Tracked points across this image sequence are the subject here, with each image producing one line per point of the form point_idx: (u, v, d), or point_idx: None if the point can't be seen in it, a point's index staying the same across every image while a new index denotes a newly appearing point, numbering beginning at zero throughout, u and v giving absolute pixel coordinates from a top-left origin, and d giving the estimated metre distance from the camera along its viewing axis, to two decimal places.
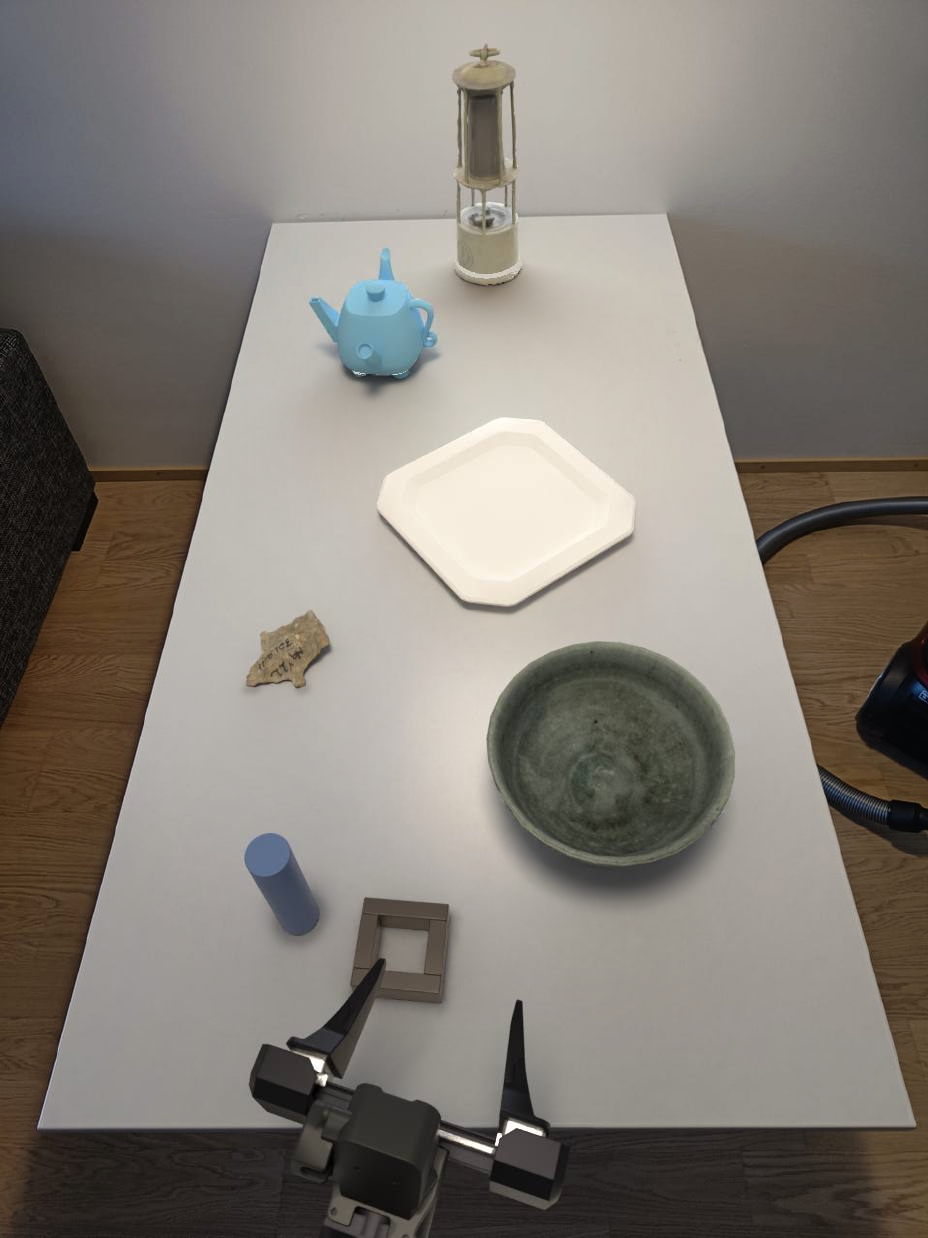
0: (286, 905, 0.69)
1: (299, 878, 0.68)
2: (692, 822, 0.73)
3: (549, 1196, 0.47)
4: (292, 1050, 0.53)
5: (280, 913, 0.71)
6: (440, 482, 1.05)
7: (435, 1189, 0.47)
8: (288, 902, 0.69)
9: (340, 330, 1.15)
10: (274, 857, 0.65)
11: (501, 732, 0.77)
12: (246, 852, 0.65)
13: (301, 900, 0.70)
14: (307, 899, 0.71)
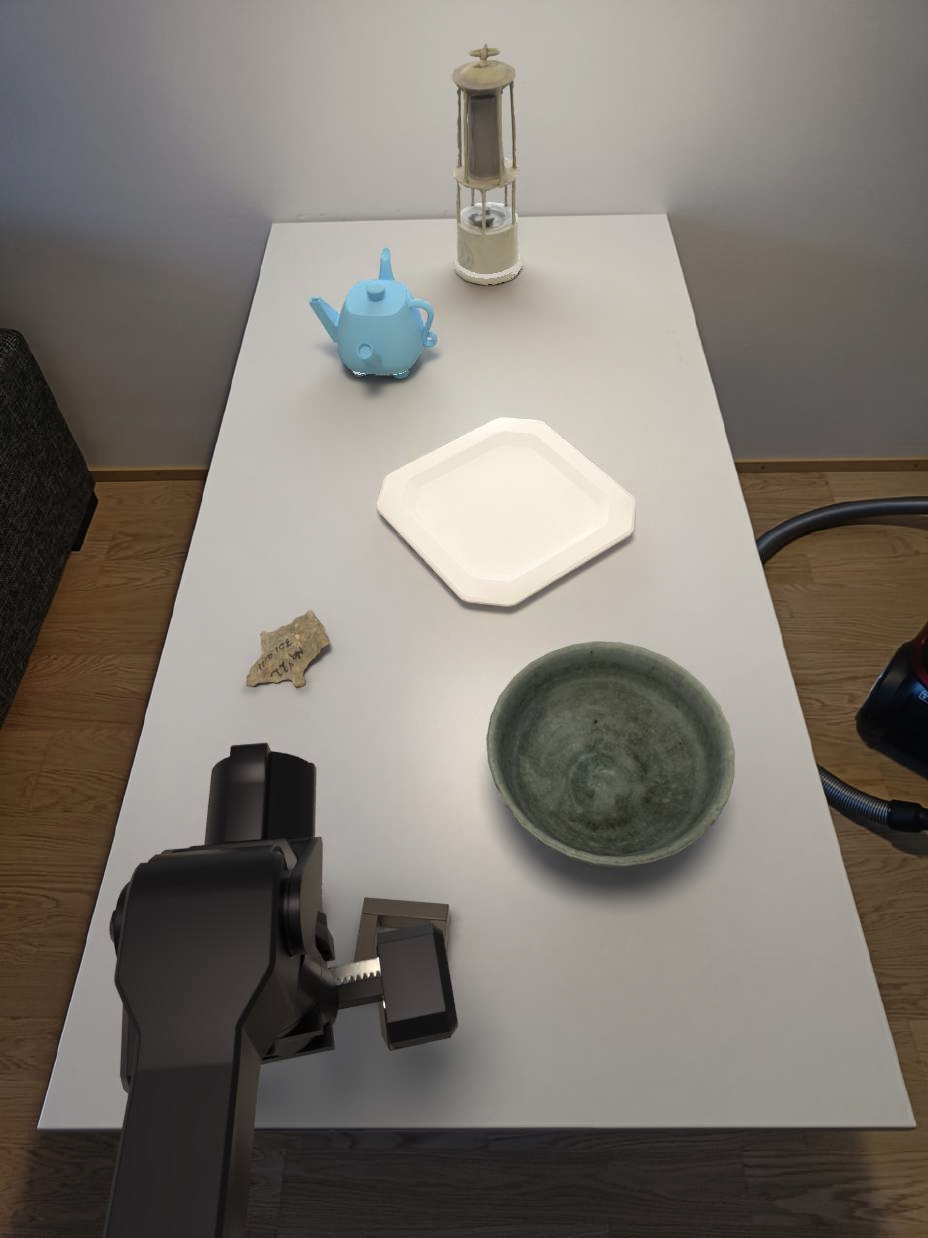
0: None
1: None
2: (692, 822, 0.73)
3: (432, 930, 0.52)
4: None
5: None
6: (440, 482, 1.05)
7: None
8: None
9: (340, 330, 1.15)
10: None
11: (501, 732, 0.77)
12: None
13: None
14: None
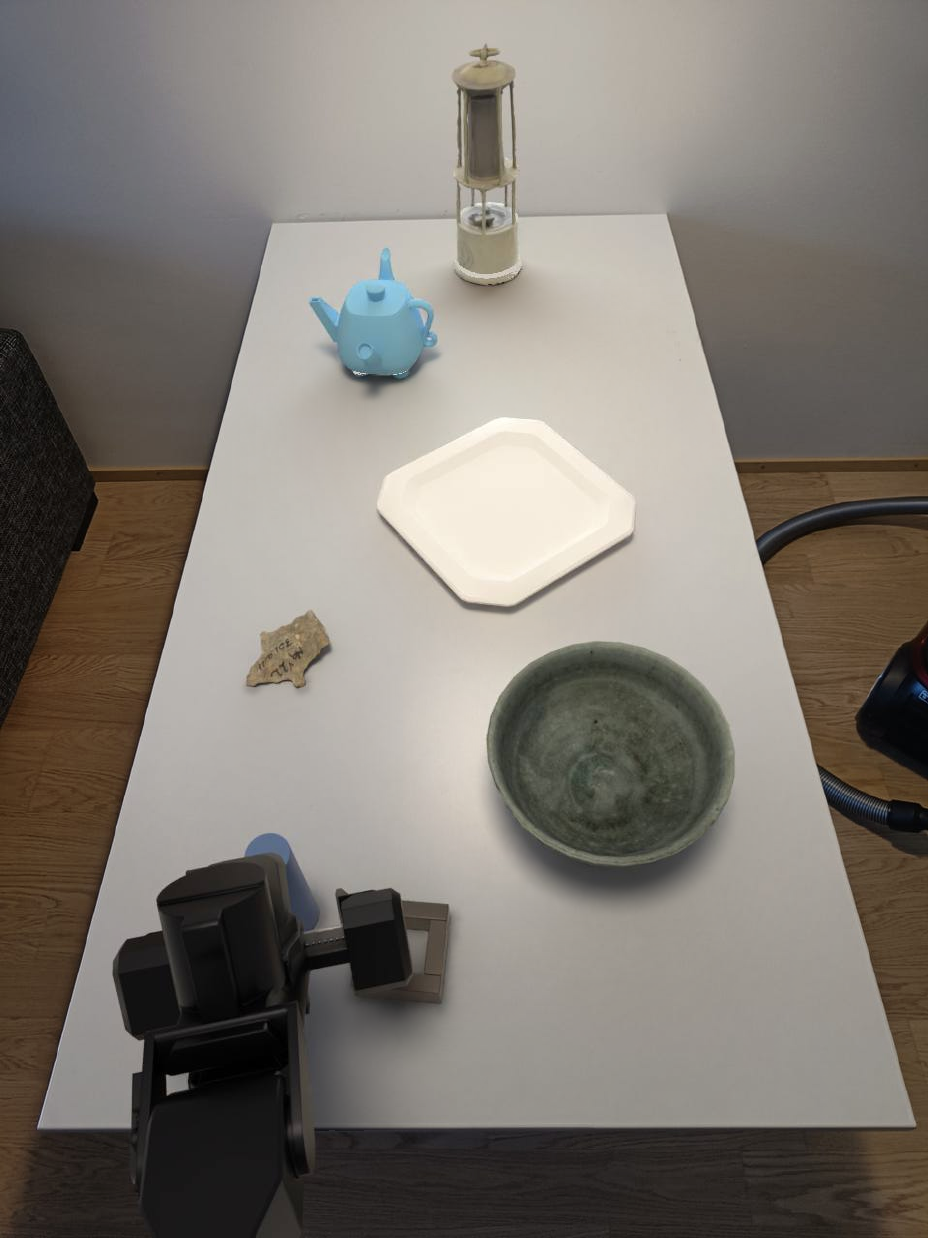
0: None
1: (299, 878, 0.68)
2: (692, 822, 0.73)
3: (393, 914, 0.57)
4: None
5: None
6: (440, 482, 1.05)
7: (298, 933, 0.55)
8: None
9: (340, 330, 1.15)
10: None
11: (501, 732, 0.77)
12: (246, 852, 0.65)
13: (301, 900, 0.70)
14: (307, 899, 0.71)
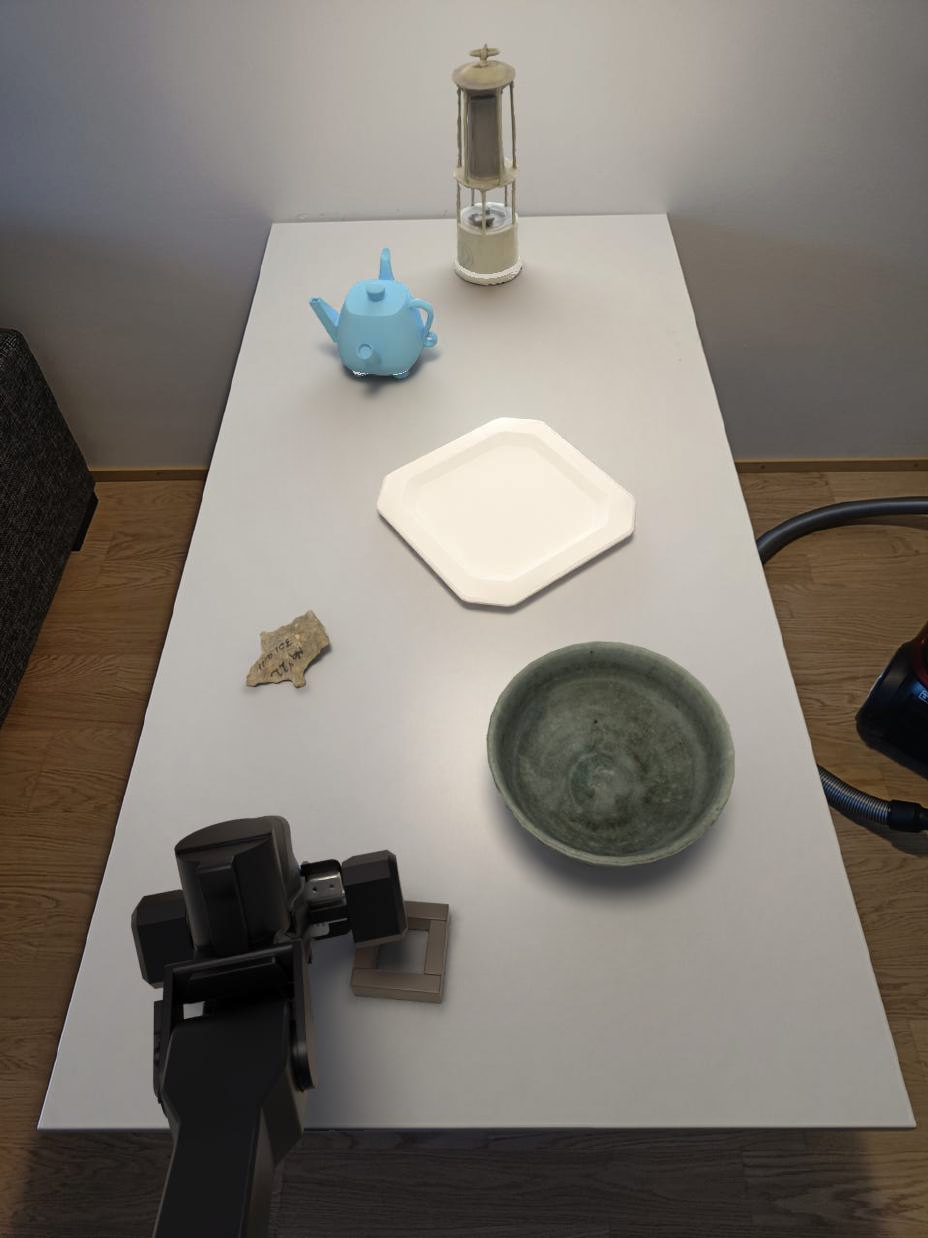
0: None
1: None
2: (692, 822, 0.73)
3: (389, 872, 0.62)
4: None
5: None
6: (440, 482, 1.05)
7: (301, 887, 0.60)
8: None
9: (340, 330, 1.15)
10: None
11: (501, 732, 0.77)
12: None
13: None
14: None
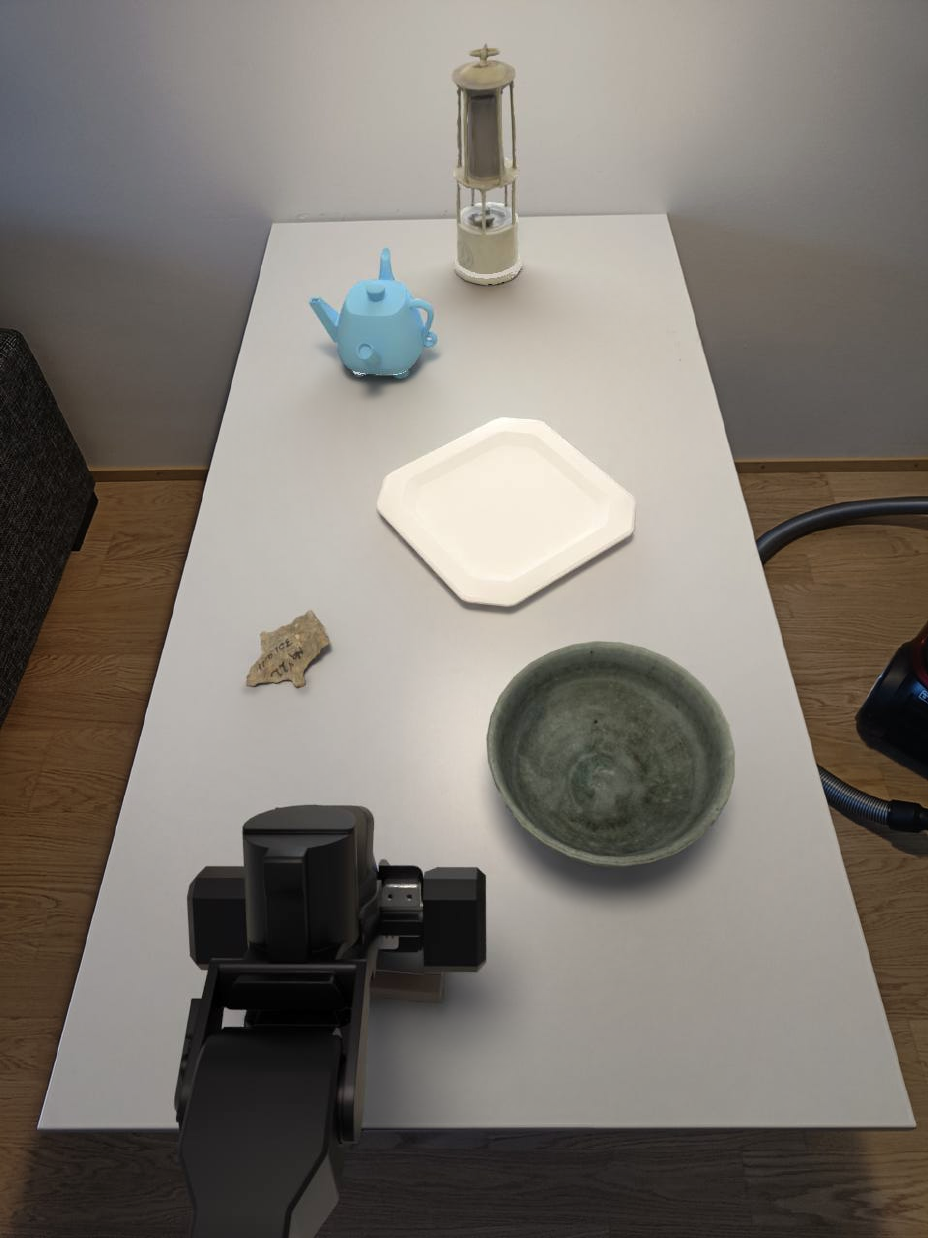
0: None
1: None
2: (692, 822, 0.73)
3: (476, 895, 0.54)
4: None
5: None
6: (440, 482, 1.05)
7: (376, 893, 0.53)
8: None
9: (340, 330, 1.15)
10: None
11: (501, 732, 0.77)
12: None
13: None
14: None
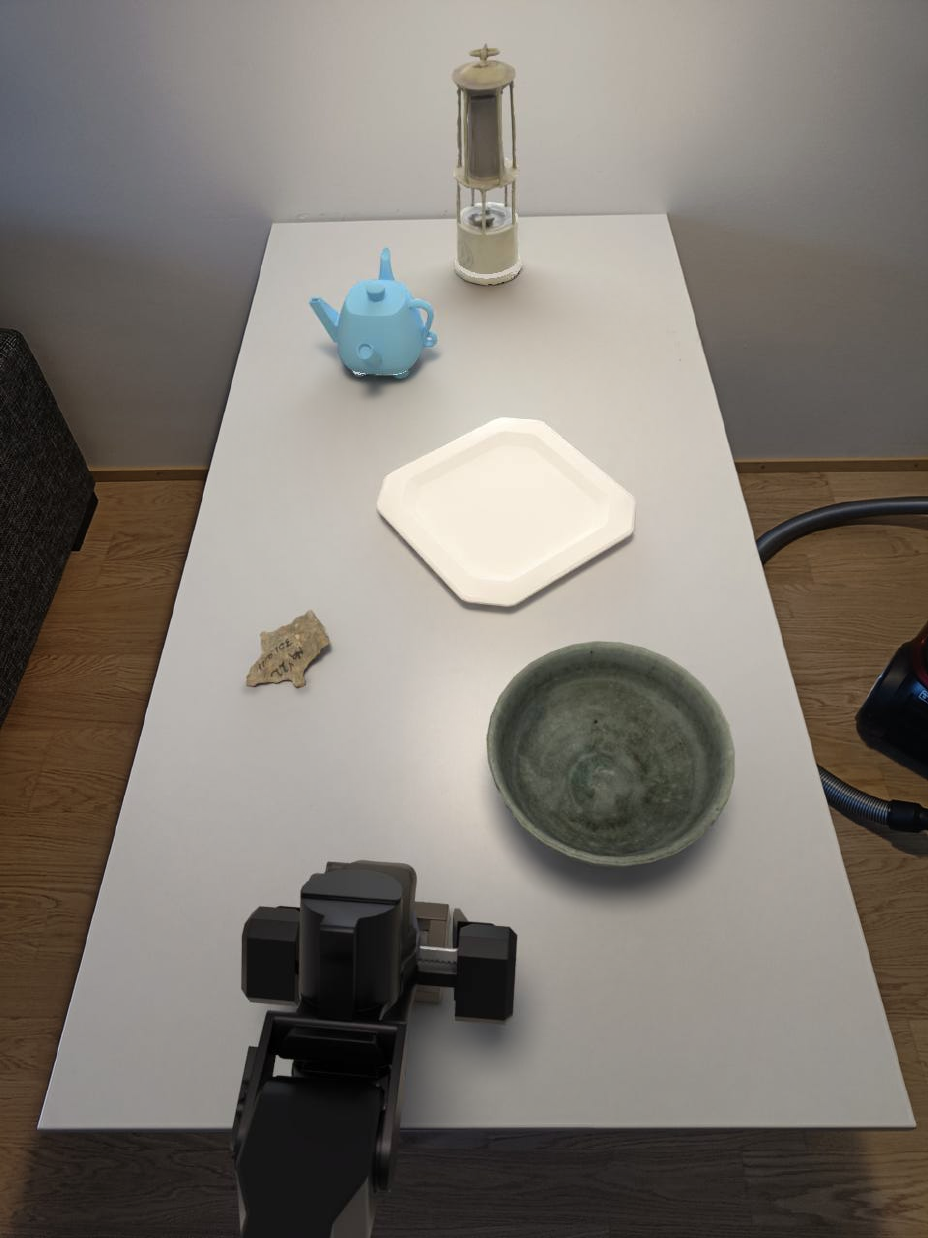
0: None
1: (413, 926, 0.66)
2: (692, 822, 0.73)
3: (507, 955, 0.58)
4: None
5: None
6: (440, 482, 1.05)
7: (415, 948, 0.57)
8: None
9: (340, 330, 1.15)
10: None
11: (501, 732, 0.77)
12: None
13: None
14: None
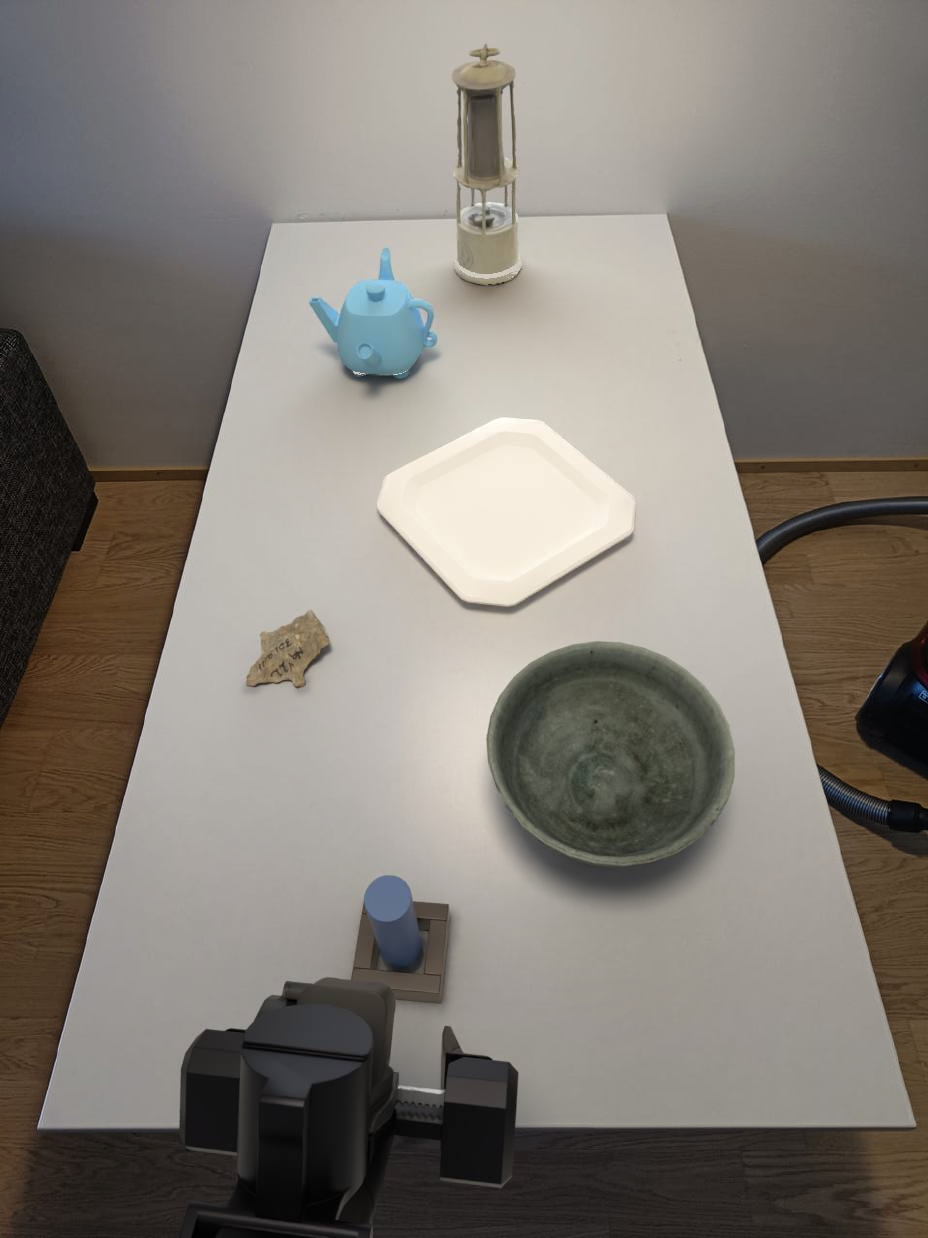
0: (394, 949, 0.67)
1: (413, 926, 0.66)
2: (692, 822, 0.73)
3: (505, 1102, 0.47)
4: None
5: (386, 953, 0.68)
6: (440, 482, 1.05)
7: (391, 1094, 0.46)
8: (396, 946, 0.66)
9: (340, 330, 1.15)
10: (394, 903, 0.63)
11: (501, 732, 0.77)
12: (367, 890, 0.63)
13: (409, 947, 0.68)
14: (415, 946, 0.69)
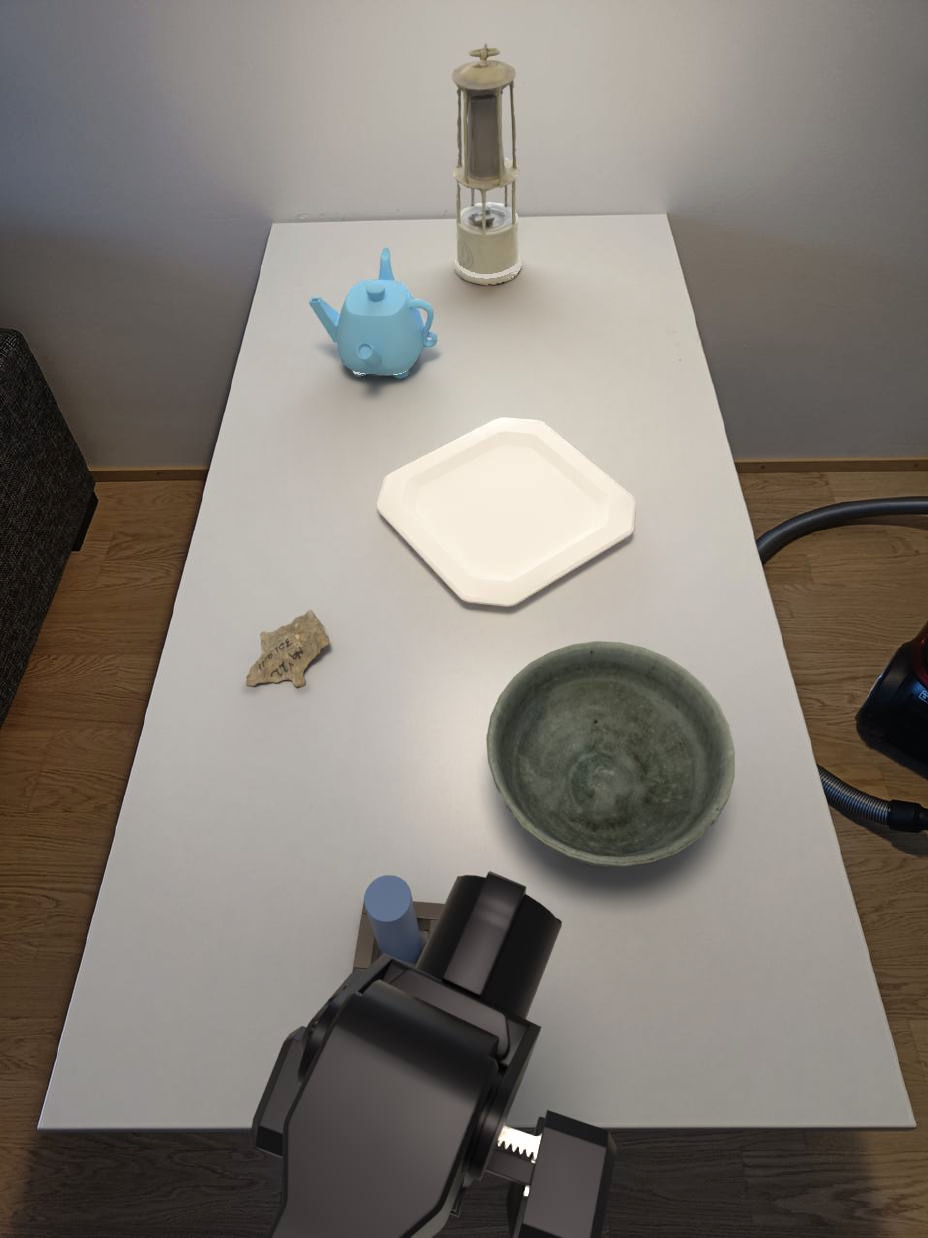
0: (394, 949, 0.67)
1: (413, 926, 0.66)
2: (692, 822, 0.73)
3: (606, 1143, 0.45)
4: None
5: (386, 953, 0.68)
6: (440, 482, 1.05)
7: None
8: (396, 946, 0.66)
9: (340, 330, 1.15)
10: (394, 903, 0.63)
11: (501, 732, 0.77)
12: (367, 890, 0.63)
13: (409, 947, 0.68)
14: (415, 946, 0.69)
